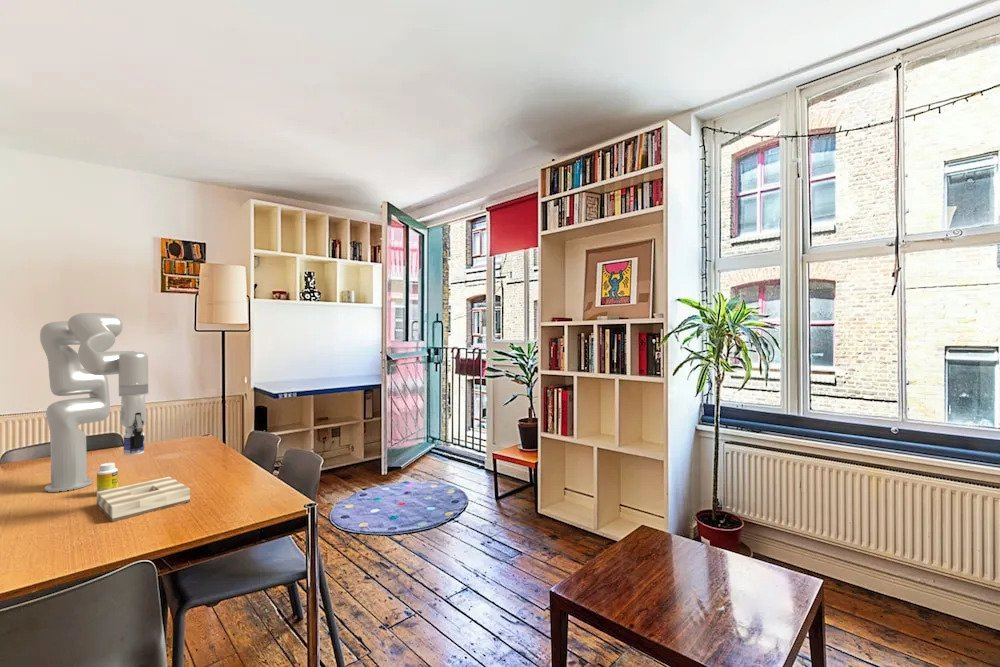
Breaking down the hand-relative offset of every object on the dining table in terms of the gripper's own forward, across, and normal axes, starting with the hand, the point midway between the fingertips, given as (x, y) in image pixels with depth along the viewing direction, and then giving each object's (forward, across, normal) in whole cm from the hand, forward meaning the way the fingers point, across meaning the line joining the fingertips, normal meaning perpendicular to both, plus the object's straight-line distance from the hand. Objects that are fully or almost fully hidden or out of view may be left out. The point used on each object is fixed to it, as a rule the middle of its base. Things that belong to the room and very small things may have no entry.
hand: (134, 446), depth 149 cm
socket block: (+19, 0, +2) cm, 20 cm away
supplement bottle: (+20, -22, -3) cm, 29 cm away
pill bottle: (+3, 0, 0) cm, 3 cm away
